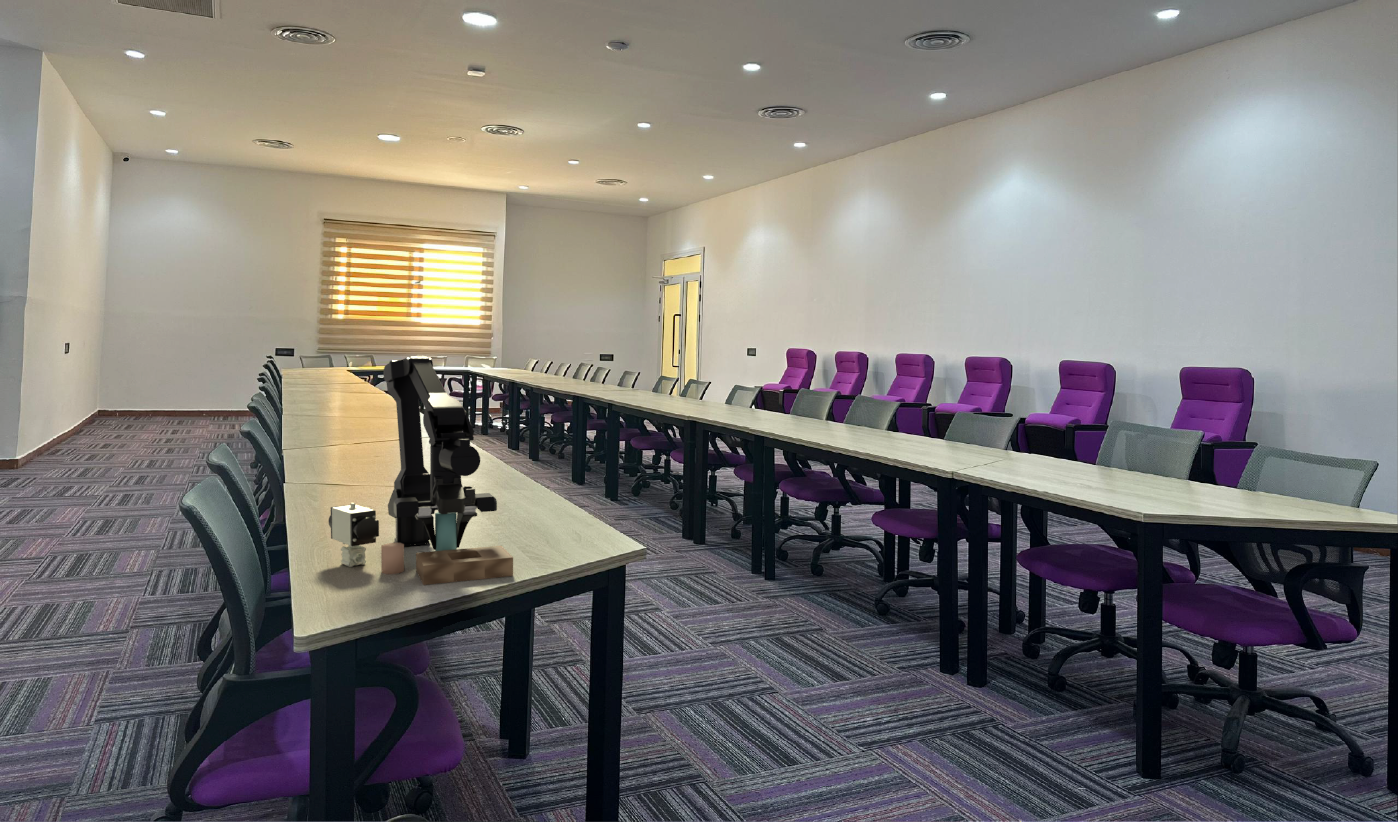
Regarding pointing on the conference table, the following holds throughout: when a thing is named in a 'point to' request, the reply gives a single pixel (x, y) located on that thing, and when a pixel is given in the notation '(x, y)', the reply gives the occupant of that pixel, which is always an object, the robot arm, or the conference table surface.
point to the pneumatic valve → (353, 531)
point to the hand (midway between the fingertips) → (445, 548)
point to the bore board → (463, 564)
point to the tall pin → (446, 531)
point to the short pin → (392, 558)
